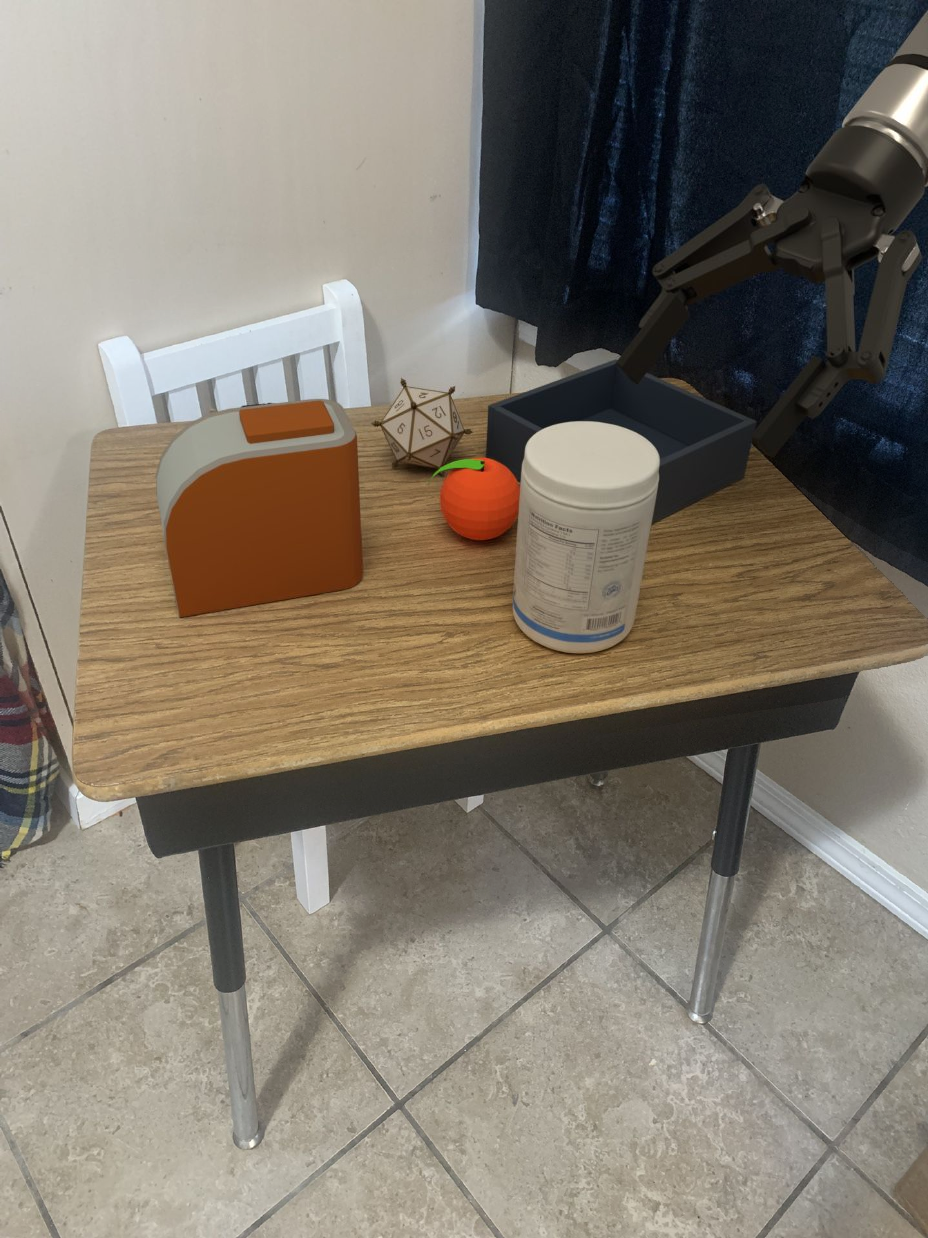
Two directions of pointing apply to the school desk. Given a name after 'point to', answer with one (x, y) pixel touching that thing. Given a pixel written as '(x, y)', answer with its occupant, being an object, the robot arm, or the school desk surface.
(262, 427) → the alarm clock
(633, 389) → the bin
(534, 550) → the supplement tub
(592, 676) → the school desk surface
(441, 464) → the game die
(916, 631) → the school desk surface
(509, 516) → the clementine
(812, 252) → the robot arm
